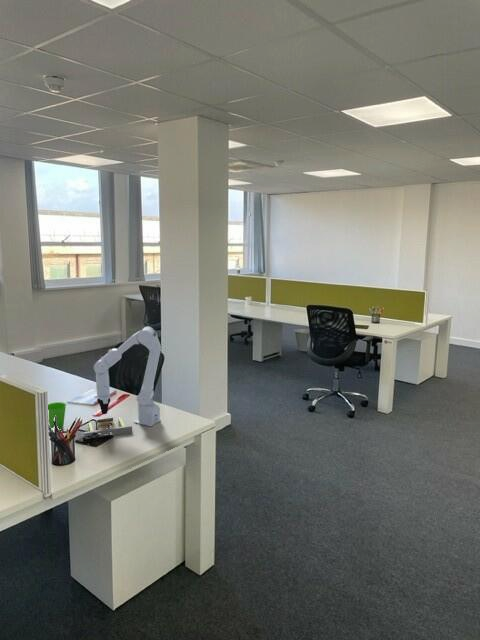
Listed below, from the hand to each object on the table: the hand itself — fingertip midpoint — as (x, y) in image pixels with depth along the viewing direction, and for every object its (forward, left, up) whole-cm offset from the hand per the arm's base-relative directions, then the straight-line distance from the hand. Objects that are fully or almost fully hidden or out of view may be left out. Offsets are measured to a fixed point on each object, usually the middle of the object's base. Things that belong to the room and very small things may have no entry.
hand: (104, 413), depth 218 cm
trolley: (-7, +7, -4) cm, 11 cm away
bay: (-7, +7, -4) cm, 11 cm away
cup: (+13, +16, -4) cm, 21 cm away
